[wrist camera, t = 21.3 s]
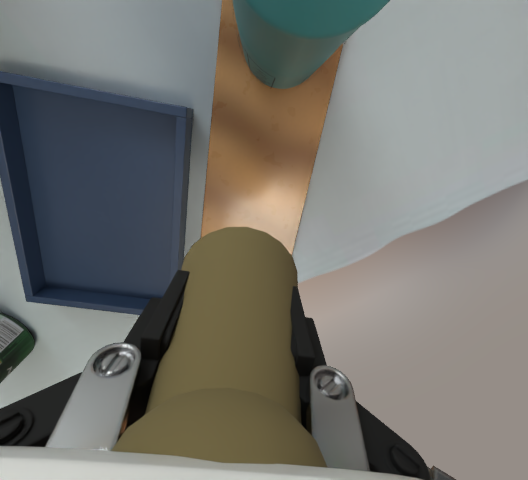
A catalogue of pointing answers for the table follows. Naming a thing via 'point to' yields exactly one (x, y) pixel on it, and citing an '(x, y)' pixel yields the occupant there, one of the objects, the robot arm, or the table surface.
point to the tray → (93, 192)
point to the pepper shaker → (229, 361)
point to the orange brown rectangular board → (261, 142)
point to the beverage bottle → (296, 34)
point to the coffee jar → (13, 344)
